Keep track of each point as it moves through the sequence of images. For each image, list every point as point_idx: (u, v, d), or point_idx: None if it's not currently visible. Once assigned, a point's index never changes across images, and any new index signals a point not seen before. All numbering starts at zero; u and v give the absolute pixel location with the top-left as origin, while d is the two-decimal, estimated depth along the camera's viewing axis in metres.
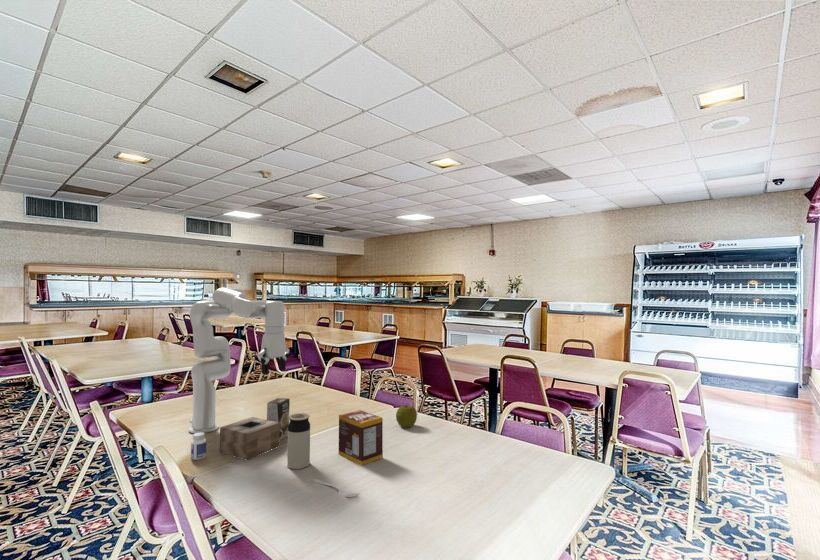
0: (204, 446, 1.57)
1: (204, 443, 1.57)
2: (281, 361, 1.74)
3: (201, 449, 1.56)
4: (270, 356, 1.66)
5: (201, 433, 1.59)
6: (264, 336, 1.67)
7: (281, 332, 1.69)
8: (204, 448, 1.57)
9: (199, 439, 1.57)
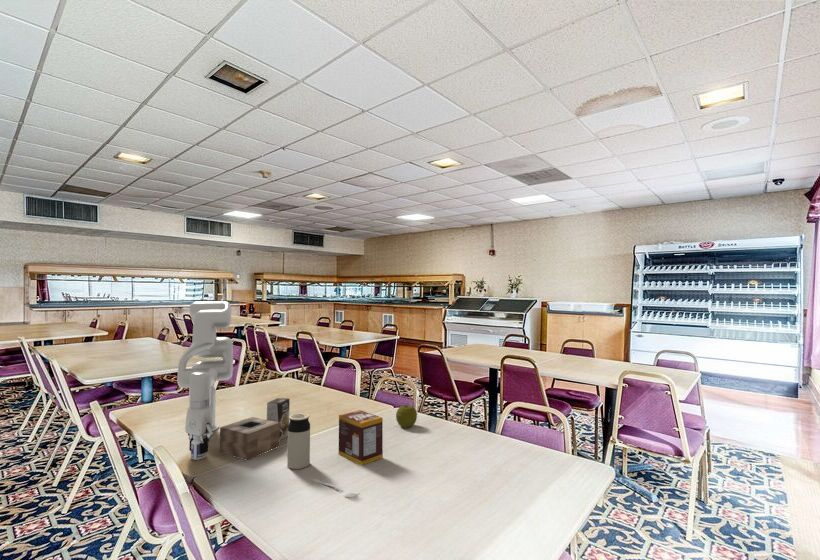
0: None
1: None
2: None
3: None
4: None
5: None
6: (205, 411, 1.56)
7: None
8: None
9: (199, 439, 1.57)
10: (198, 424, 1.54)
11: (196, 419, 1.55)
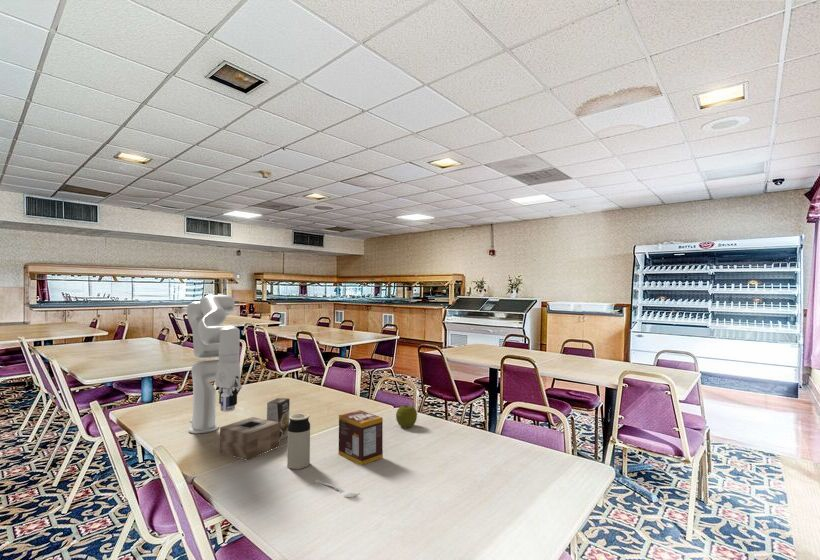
0: None
1: None
2: None
3: None
4: None
5: None
6: (234, 365, 1.60)
7: None
8: None
9: (228, 392, 1.61)
10: (228, 377, 1.59)
11: (226, 372, 1.60)
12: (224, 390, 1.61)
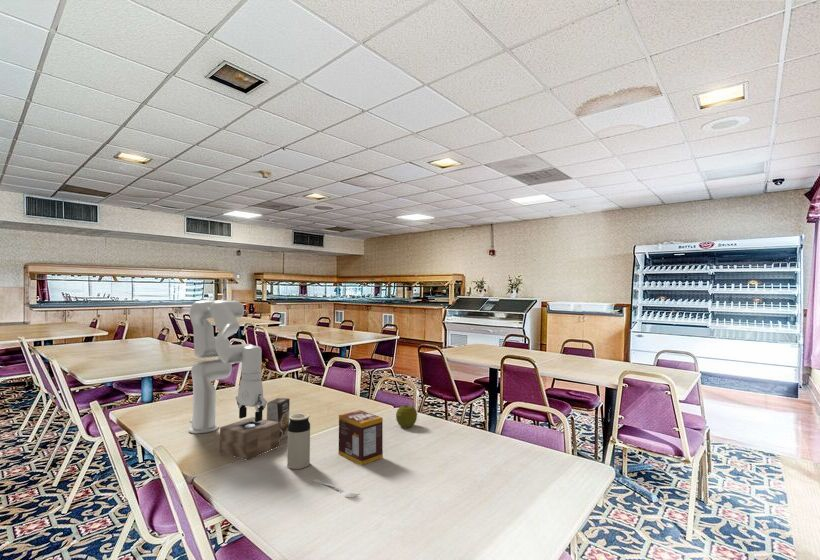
0: None
1: None
2: (243, 409, 1.68)
3: None
4: None
5: (252, 424, 1.67)
6: (257, 383, 1.64)
7: None
8: None
9: None
10: (251, 395, 1.63)
11: (249, 390, 1.63)
12: None
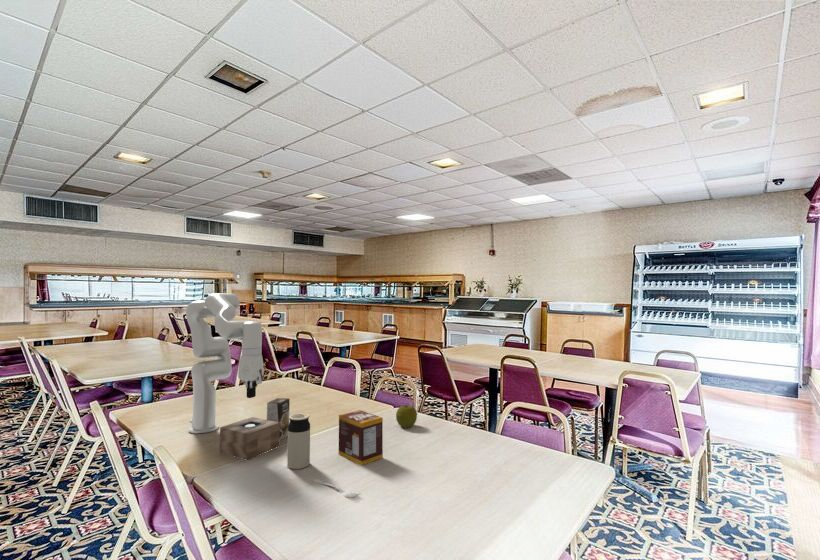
0: None
1: None
2: None
3: None
4: None
5: (252, 424, 1.67)
6: (257, 358, 1.64)
7: None
8: None
9: None
10: (252, 370, 1.63)
11: (249, 365, 1.64)
12: None
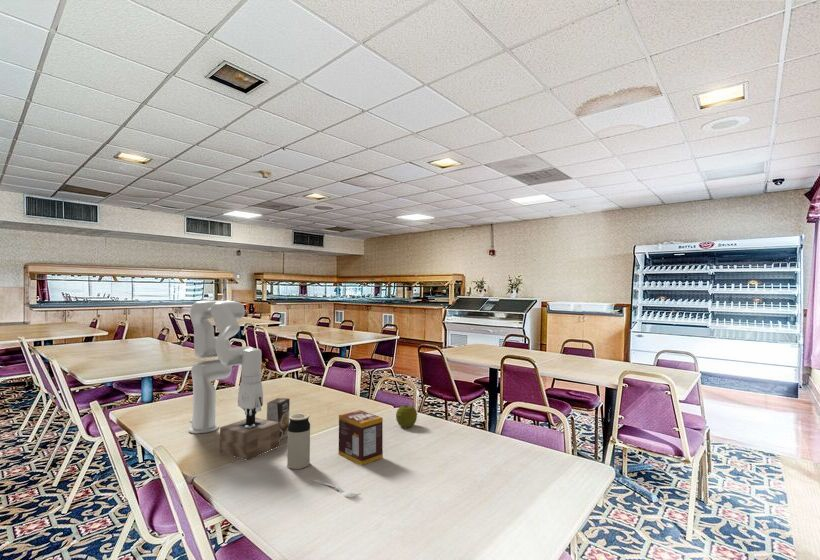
0: None
1: None
2: None
3: None
4: None
5: None
6: (257, 386, 1.64)
7: None
8: None
9: None
10: (251, 398, 1.63)
11: (249, 393, 1.63)
12: None
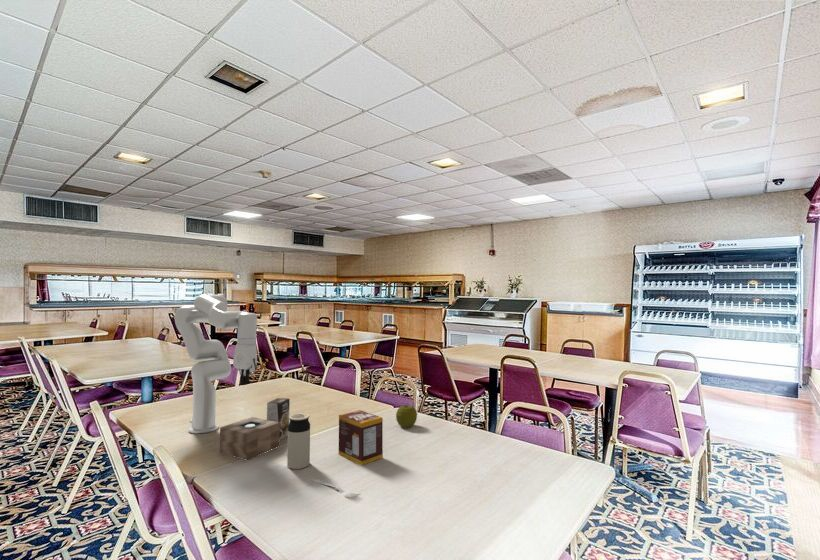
0: None
1: None
2: None
3: None
4: None
5: (252, 424, 1.67)
6: (251, 347, 1.73)
7: None
8: None
9: None
10: (245, 359, 1.72)
11: (244, 354, 1.72)
12: None
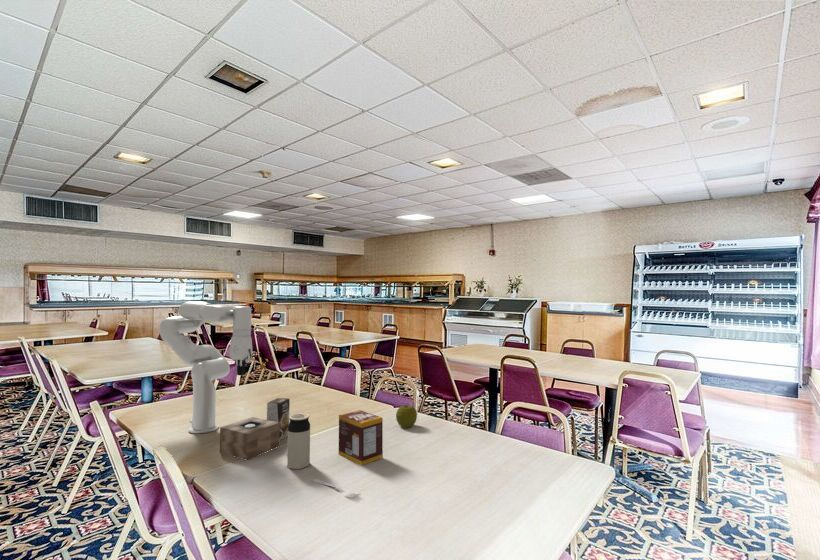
0: None
1: None
2: None
3: None
4: None
5: (252, 424, 1.67)
6: (247, 339, 1.80)
7: None
8: None
9: None
10: (241, 349, 1.79)
11: (239, 345, 1.80)
12: None
